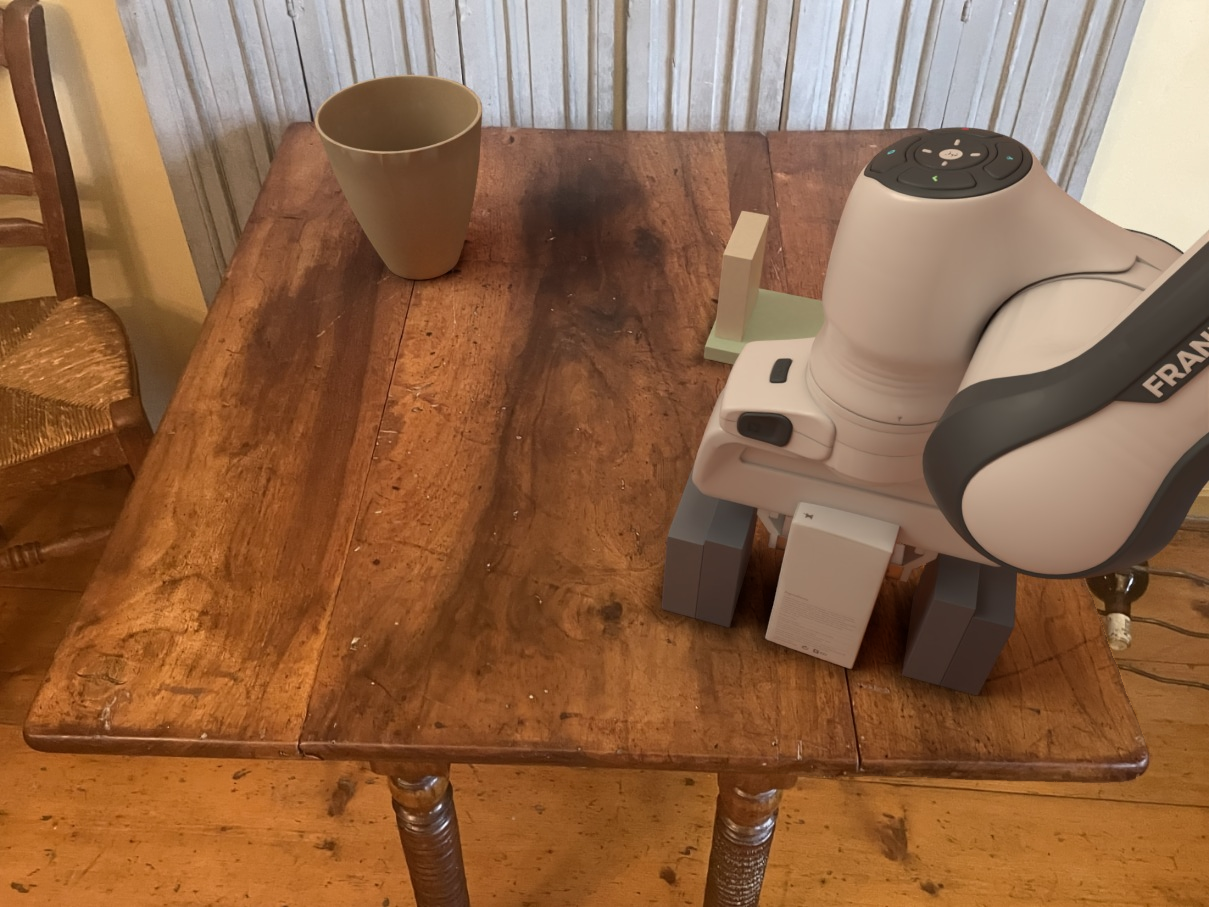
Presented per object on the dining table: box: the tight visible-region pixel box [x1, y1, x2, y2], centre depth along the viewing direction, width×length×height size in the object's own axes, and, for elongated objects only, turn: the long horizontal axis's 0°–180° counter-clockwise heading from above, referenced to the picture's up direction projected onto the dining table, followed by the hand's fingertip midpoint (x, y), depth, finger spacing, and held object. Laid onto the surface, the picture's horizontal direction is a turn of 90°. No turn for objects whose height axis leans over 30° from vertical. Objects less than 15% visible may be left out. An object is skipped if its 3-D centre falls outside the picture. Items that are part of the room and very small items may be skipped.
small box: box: [764, 502, 901, 670], centre depth 66 cm, size 8×6×13 cm
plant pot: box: [314, 74, 483, 281], centre depth 94 cm, size 15×15×16 cm
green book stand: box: [703, 210, 824, 366], centre depth 87 cm, size 18×10×10 cm, turn 72°
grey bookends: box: [661, 462, 1018, 697], centre depth 67 cm, size 22×7×9 cm, turn 72°
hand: (837, 557), depth 66 cm, fingers closed on small box, 6 cm apart
